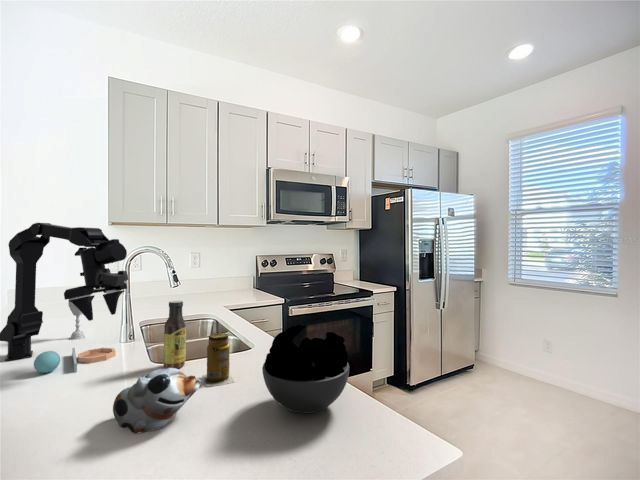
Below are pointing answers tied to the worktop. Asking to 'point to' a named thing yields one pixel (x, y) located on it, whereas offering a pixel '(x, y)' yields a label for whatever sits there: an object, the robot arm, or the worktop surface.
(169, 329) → the sauce bottle
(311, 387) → the coal bowl
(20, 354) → the robot arm
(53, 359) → the ball
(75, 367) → the low wall
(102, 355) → the saucer
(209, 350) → the condiment
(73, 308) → the chalice
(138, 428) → the lucky cat figurine
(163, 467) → the worktop surface
